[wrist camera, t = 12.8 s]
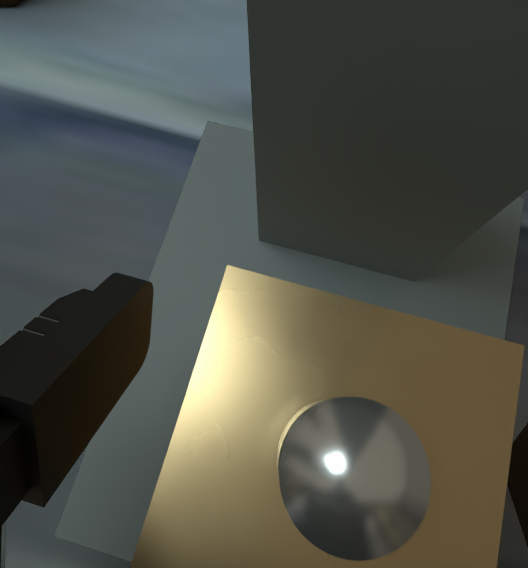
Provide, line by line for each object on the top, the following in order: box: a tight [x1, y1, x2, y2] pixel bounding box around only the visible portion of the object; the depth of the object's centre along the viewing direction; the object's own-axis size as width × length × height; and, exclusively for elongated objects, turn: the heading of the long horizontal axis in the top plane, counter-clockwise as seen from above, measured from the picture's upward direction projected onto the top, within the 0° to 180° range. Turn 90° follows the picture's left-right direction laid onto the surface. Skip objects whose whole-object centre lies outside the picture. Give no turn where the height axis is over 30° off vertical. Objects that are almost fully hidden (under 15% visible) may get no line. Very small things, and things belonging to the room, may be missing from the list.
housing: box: [130, 265, 525, 568], centre depth 9 cm, size 4×4×10 cm
